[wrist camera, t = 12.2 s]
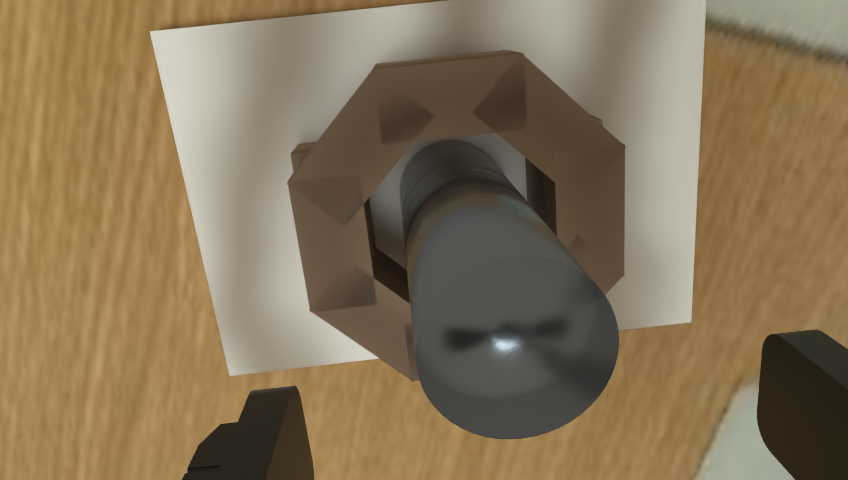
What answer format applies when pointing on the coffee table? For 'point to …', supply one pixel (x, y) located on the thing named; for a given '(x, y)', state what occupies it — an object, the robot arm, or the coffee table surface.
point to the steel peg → (497, 301)
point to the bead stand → (412, 131)
